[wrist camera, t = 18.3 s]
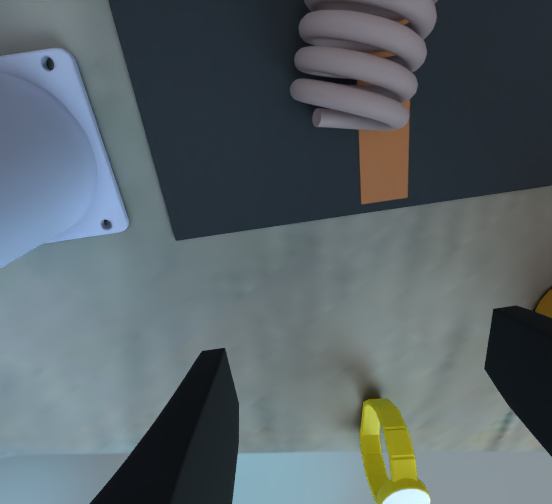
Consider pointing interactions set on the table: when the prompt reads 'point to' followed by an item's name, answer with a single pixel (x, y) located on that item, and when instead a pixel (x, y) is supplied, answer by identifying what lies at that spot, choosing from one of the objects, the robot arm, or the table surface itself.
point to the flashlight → (545, 305)
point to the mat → (298, 116)
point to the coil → (362, 60)
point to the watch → (404, 483)
